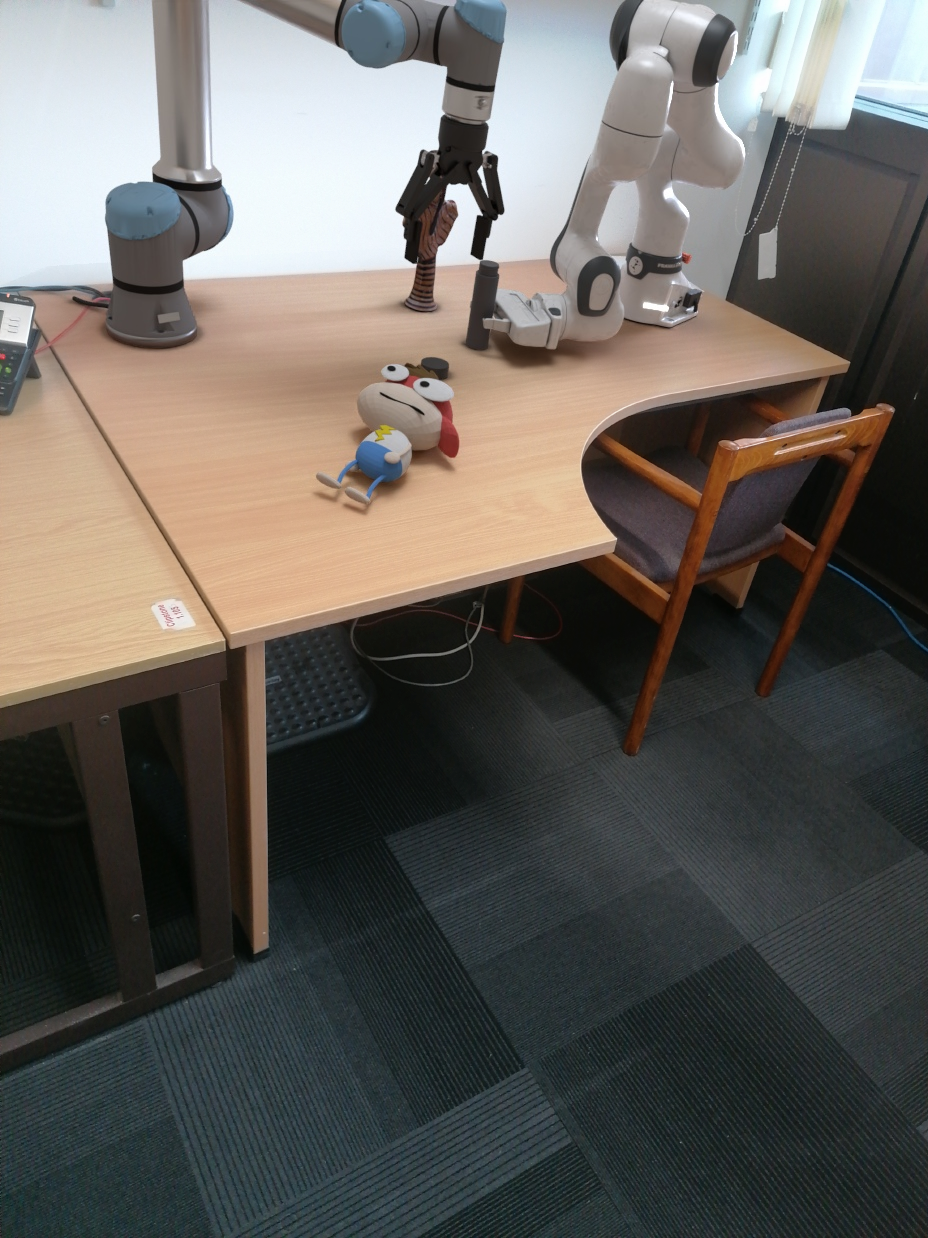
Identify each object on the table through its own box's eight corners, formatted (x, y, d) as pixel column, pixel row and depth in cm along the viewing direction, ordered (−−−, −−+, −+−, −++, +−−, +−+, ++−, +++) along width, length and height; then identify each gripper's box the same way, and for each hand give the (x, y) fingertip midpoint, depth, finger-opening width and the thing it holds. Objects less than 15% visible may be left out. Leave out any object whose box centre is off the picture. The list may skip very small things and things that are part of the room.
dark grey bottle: (487, 351, 173) (501, 268, 163) (465, 348, 173) (477, 265, 163) (487, 342, 177) (500, 261, 167) (465, 339, 176) (477, 257, 166)
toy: (278, 428, 121) (396, 343, 140) (277, 485, 128) (389, 398, 148) (391, 486, 117) (497, 391, 136) (384, 542, 124) (485, 444, 143)
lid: (415, 367, 162) (417, 357, 161) (441, 367, 164) (443, 356, 163) (425, 380, 159) (426, 369, 157) (451, 379, 160) (453, 368, 159)
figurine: (429, 292, 193) (447, 140, 175) (457, 304, 190) (478, 150, 172) (386, 306, 183) (400, 146, 165) (414, 318, 180) (432, 157, 162)
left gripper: (410, 121, 127) (393, 270, 140) (542, 127, 140) (515, 263, 153) (383, 107, 131) (369, 254, 144) (513, 114, 144) (489, 247, 158)
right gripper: (529, 281, 180) (464, 278, 176) (565, 320, 165) (495, 318, 161) (523, 312, 184) (460, 309, 180) (558, 353, 169) (489, 351, 165)
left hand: (444, 259), depth 149 cm, fingers open, 13 cm apart
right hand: (477, 313), depth 170 cm, fingers open, 7 cm apart
